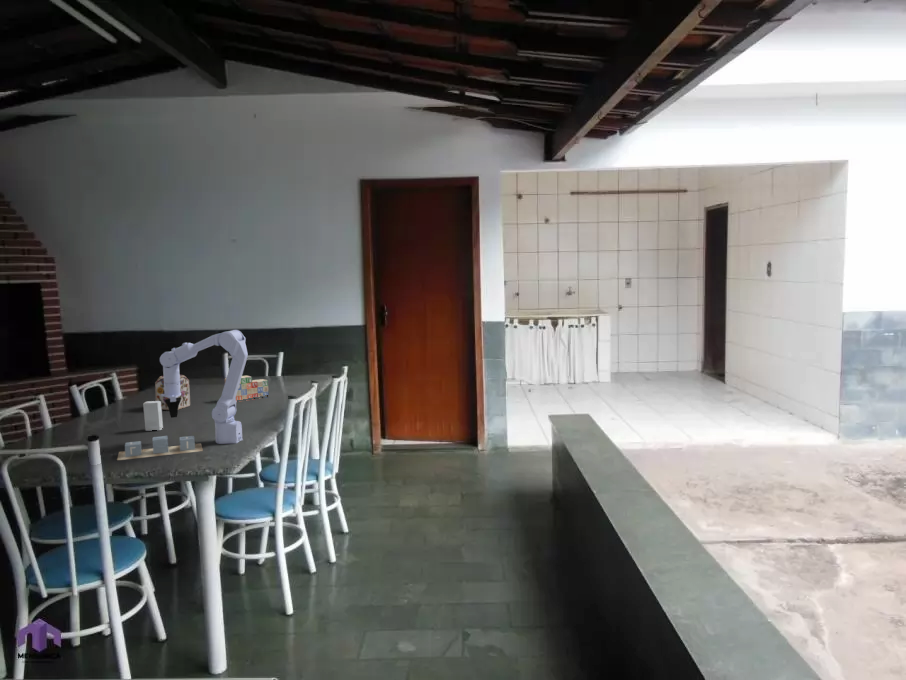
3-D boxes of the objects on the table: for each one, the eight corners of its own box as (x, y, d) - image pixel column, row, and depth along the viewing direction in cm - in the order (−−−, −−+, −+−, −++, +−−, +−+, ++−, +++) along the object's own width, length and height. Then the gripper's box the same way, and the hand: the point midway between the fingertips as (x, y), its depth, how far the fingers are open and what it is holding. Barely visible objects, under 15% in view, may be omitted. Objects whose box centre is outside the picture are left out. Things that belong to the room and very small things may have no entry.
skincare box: (163, 428, 280) (161, 400, 278) (159, 430, 275) (158, 402, 274) (148, 428, 279) (146, 400, 278) (144, 431, 274) (142, 402, 273)
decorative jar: (177, 410, 317) (175, 373, 315) (155, 410, 319) (153, 373, 317) (191, 405, 328) (189, 370, 326) (170, 405, 330) (168, 369, 329)
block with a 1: (194, 446, 246) (193, 435, 245) (195, 449, 241) (194, 438, 241) (180, 447, 244) (179, 437, 243) (180, 451, 239) (179, 440, 239)
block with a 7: (141, 451, 239) (140, 440, 238) (141, 455, 234) (140, 444, 234) (126, 453, 237) (125, 442, 236) (125, 457, 232) (124, 445, 232)
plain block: (168, 448, 242) (167, 435, 242) (168, 452, 238) (167, 438, 237) (153, 450, 240) (152, 437, 240) (153, 453, 236) (152, 440, 235)
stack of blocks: (263, 395, 354) (262, 373, 353) (268, 397, 350) (268, 374, 348) (225, 401, 340) (224, 377, 338) (230, 403, 335) (229, 379, 334)
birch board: (201, 445, 250) (201, 443, 250) (202, 453, 239) (202, 450, 239) (119, 454, 239) (119, 451, 239) (117, 463, 228) (116, 460, 228)
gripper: (160, 380, 257) (162, 414, 258) (160, 386, 243) (162, 421, 245) (180, 379, 259) (181, 412, 261) (181, 384, 246) (182, 420, 248)
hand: (173, 417), depth 253 cm, fingers closed
